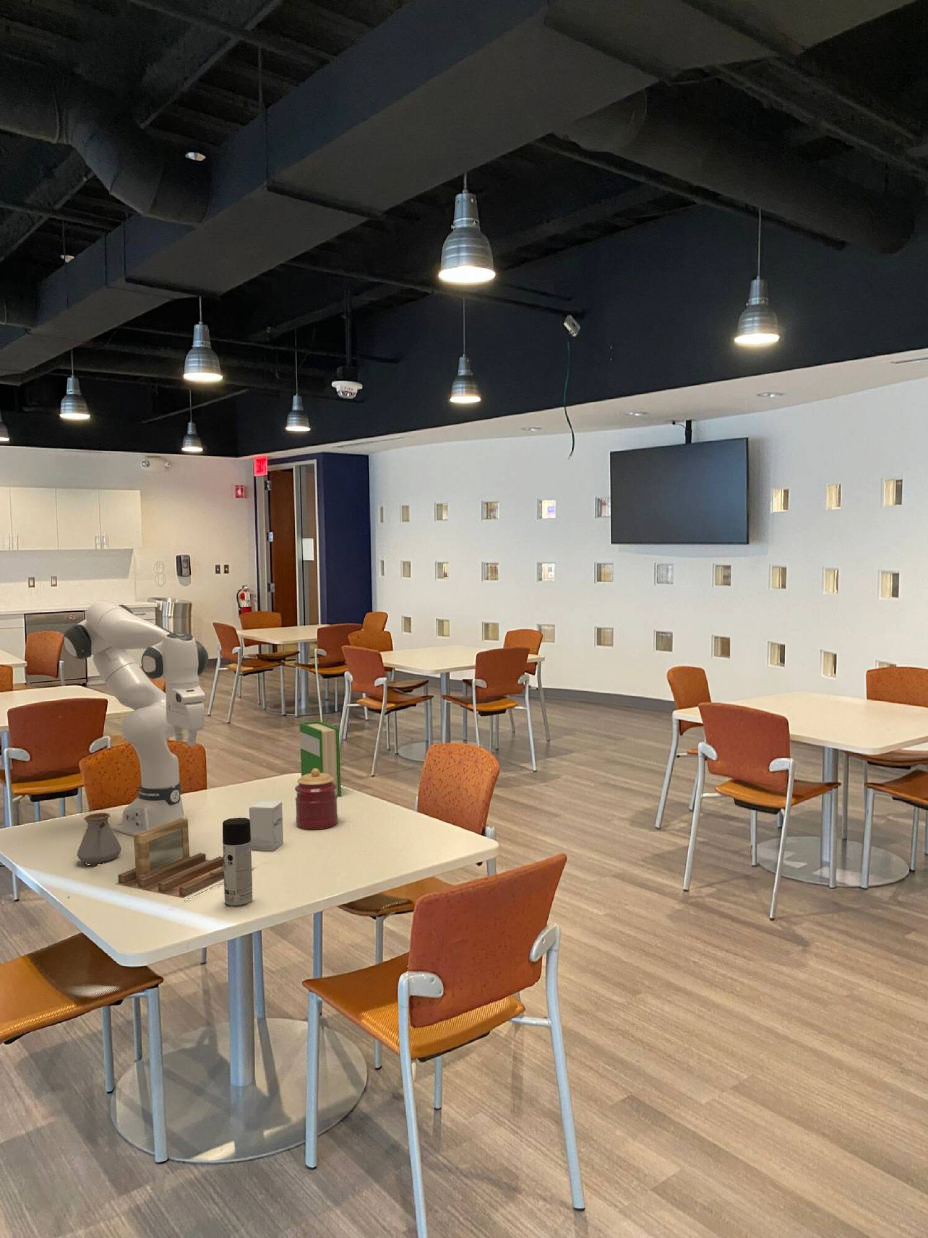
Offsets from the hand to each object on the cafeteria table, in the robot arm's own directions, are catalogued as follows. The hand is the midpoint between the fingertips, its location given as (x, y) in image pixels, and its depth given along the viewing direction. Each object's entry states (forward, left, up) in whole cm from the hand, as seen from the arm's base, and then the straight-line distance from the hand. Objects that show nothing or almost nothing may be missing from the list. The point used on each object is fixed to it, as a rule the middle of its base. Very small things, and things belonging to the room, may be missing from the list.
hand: (185, 743), depth 248 cm
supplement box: (+10, +20, -34) cm, 40 cm away
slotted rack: (+7, -10, -33) cm, 36 cm away
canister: (+10, +44, -34) cm, 56 cm away
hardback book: (-11, +76, -34) cm, 83 cm away
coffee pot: (-21, -12, -34) cm, 41 cm away
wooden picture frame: (0, -10, -32) cm, 34 cm away
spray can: (+31, -16, -34) cm, 49 cm away
